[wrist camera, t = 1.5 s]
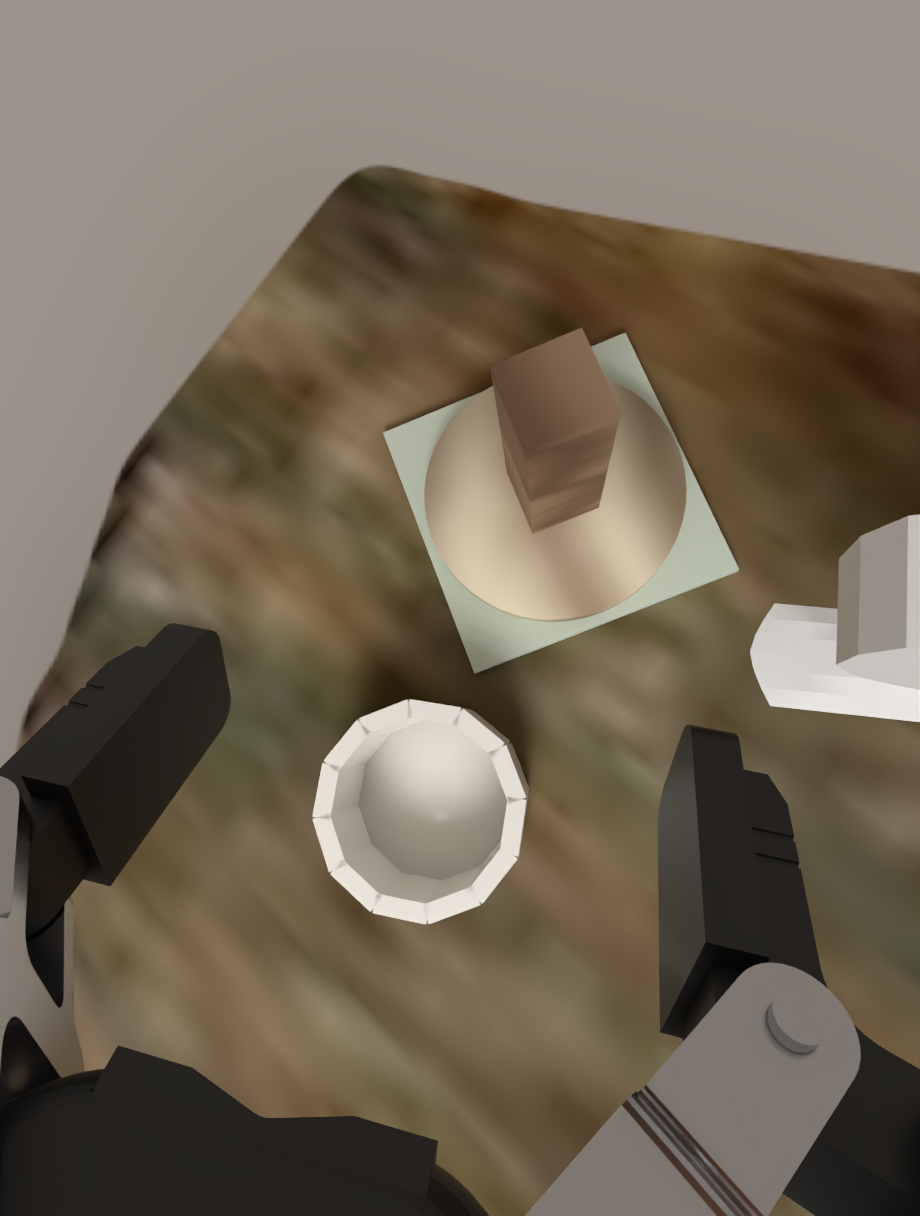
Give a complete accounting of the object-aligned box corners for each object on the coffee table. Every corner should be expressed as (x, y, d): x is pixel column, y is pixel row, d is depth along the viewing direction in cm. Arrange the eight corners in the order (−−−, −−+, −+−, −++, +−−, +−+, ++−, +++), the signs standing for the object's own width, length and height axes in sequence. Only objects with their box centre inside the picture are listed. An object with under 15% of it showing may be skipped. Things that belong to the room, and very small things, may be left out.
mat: (624, 337, 37) (625, 332, 37) (736, 572, 34) (739, 569, 34) (385, 436, 38) (382, 432, 37) (475, 674, 35) (474, 673, 34)
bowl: (488, 679, 35) (478, 671, 30) (555, 854, 33) (556, 876, 28) (324, 742, 35) (289, 745, 30) (382, 919, 33) (354, 952, 29)
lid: (620, 344, 36) (653, 168, 25) (725, 564, 34) (816, 481, 22) (394, 437, 37) (326, 307, 26) (479, 660, 34) (446, 626, 23)
